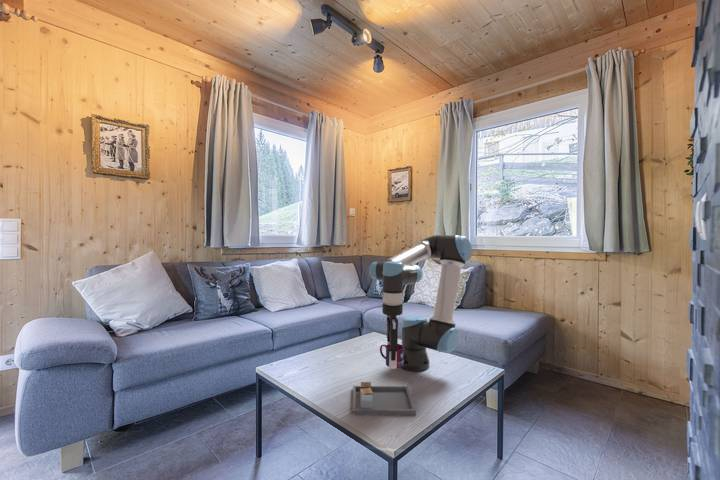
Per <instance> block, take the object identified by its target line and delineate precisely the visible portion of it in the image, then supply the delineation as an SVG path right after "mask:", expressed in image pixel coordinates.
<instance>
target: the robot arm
mask: <svg viewBox="0 0 720 480" xmlns="http://www.w3.org/2000/svg"><path fill="white" fill-rule="evenodd" d="M472 250H473V249H472V244H471V241H470V239H469V238H468V237H467V236H464V235H458V234H456V235H447V234H446V235H443V234H435V235H431V236H428V237H426V238H424V239H421V240H419V241H417V242H415V243H414V246H412V247H409V248H407V249H406V250H404V251H402V252H400V253H397V254H395V255H394V256H392V257H389V258H387V259H386V260H383V261H374V262H372V263H370V265H369V267H368V274H369V277H370V278H371V279H373V280H377V281H382V294H380V297H382V302H383V303H382V309H381V311H382V314H383V315H385V316H386V345H388V344H390V350H388V351H389V367H388V369H391V370H392V369H393V370H394V369H395V370H396V369H398V368H397V352H398V344H399V343H398V340H399V339H398V336H399V335H398V334H399V333H398V332H399V331H398V329H399V328H398V327H399V319H398V316H401V315H402V314H403V309H404V308H403V307H404V305H403V302H404V286H408V285H414V284H416V283H419V282H420V281H421V280H422V278H423V272H422V271H423V270H422V268H421V267H420V266H419V265H417V264H418V263H419V262H421V261H427V260H429V259H439V262H440V264H441V272H440V277H439V282H438V288H437V294H436V301H435V305H434V312H433V315H432V316H430V318H429V321H428V319H427V317H426V316H423V315H422V316H421V315H413V316H411V315H410V316H407V317H404V318H403V319H402V322H401V324H402V325H401V345H403V346H404V366H403V367H401V368H400V369H403V370H406V371H411V372H422V371H425V370H426V371H427V370H428V369H429V368H430V358H429V355H428V352H427V349H429V350H432V351H435V352H439V353H444V354H450V353H451V352H454V350H455V348H456V347H457V345H458V342H459V339H460V334H459V333H460V332H459V330H458V328H457V327H456V323H455V322H456V321H454V313H455V307H456V302H457V296H458V295H457V294H458V290H459V281H460V276H461V271H462V268H463V267H465V265H466V262H468V261H470V260H471V259H472V254H473V252H472Z"/></svg>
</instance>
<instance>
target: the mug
mask: <svg viewBox="0 0 720 480" xmlns="http://www.w3.org/2000/svg"><path fill="white" fill-rule="evenodd" d="M383 347H384V348H385V355H384V353H383ZM388 350H390V344H388V345H387V344H381V345H380V347H379V353H380V355H381V357H382V358H383V359H384V360H385V365H386V367H388V368H389V351H388ZM403 366H404V346H403V345H402V344H399V343H398V352H397V369H402V368H401V367H403Z"/></svg>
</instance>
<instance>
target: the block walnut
mask: <svg viewBox="0 0 720 480" xmlns="http://www.w3.org/2000/svg"><path fill="white" fill-rule="evenodd" d="M360 386H361V389H363V388H371V386H372V382H371V381H361V382H360Z"/></svg>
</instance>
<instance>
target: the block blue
mask: <svg viewBox="0 0 720 480" xmlns="http://www.w3.org/2000/svg"><path fill="white" fill-rule="evenodd" d="M372 407H373V395H362V397H361V409H372Z"/></svg>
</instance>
